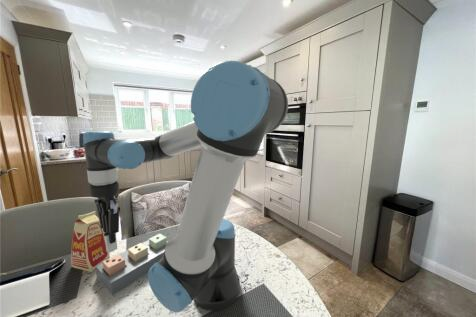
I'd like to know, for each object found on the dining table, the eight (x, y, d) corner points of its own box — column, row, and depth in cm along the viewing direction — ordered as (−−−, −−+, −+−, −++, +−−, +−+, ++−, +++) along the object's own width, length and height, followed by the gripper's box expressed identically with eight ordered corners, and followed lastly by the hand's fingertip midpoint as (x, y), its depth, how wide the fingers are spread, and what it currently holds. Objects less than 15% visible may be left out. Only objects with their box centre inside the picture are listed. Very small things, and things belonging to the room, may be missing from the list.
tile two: (148, 254, 72) (147, 246, 71) (135, 262, 68) (134, 253, 68) (141, 249, 75) (140, 242, 74) (128, 256, 71) (127, 248, 70)
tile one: (167, 244, 78) (166, 236, 78) (156, 250, 75) (155, 242, 74) (160, 239, 81) (159, 232, 81) (149, 245, 77) (148, 238, 77)
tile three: (125, 267, 66) (124, 259, 65) (109, 276, 62) (108, 267, 61) (119, 261, 68) (118, 253, 68) (103, 269, 65) (102, 261, 64)
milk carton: (91, 271, 69) (83, 219, 66) (70, 267, 71) (61, 217, 67) (112, 254, 78) (106, 208, 74) (93, 251, 80) (86, 206, 76)
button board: (175, 255, 78) (174, 245, 77) (112, 295, 60) (110, 283, 59) (158, 244, 85) (157, 235, 84) (97, 277, 66) (95, 266, 66)
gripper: (127, 182, 59) (133, 252, 63) (108, 175, 66) (115, 237, 71) (98, 189, 53) (107, 265, 57) (81, 180, 60) (91, 248, 65)
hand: (112, 250), depth 64 cm, fingers closed
